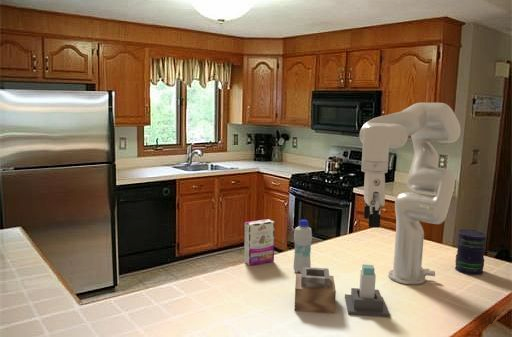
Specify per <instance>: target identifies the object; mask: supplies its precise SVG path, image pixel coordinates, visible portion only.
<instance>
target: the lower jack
mask: <svg viewBox="0 0 512 337" xmlns="http://www.w3.org/2000/svg"><path fill="white" fill-rule="evenodd" d="M350 291H351V292H350V294H346V293H345V294H344V301H345V305H346V309H347V313H348V315H353V316H363V317H365V316H366V317H377V318H378V317H380V318H390V317H391V314H390V311H389V308H388V306H387V304H386V302H385V299H384V297H383V296H382V295H381V292H380V290H379V289H375V295H374V299H370V298H359V292H360V287H359V288H355V287H354V288H353V287H351V290H350Z"/></svg>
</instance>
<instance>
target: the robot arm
mask: <svg viewBox="0 0 512 337" xmlns="http://www.w3.org/2000/svg"><path fill="white" fill-rule="evenodd" d="M461 131H462V130H461V124H460V122H459V120H458V118H457V115H456V114H455V112H454V110H453V109H452V107H450V106H449V105H448V104H447V103H444V102H416V103H413V104H412V105H410V106H409V107H408V106H407V108H405V109H402V111H397V112H394V113H389V114H385V115H380V116H377V117H374V118H372V119H369V120H368V121H366V122H365V123H364V124H363V125H362V127H361V128H360V130H359V141H360V142H361V144H362V149H361V150H362V151H361V153H362V154H361V155H362V156H361V170H360V171H361V172H363V173H364V184H363V200H364V206H363V207H364V208H363V218H364V219H367V220H368V224H367V226H368V227H369V228H378V229H379V228H380V227H381V207H384V206H385V205H386V204H385V202H386V201H385V200H386V176H385V175H386V174H387V173H388V169H389V152H390V149H392V150H393V149H401V148H403V147H404V146H405V145H406V143H407V141H408V139H409V136H410V137H411V141H412V146H413V154H414V155H413V157H412V162H411V163H410V164H411V165H410V168H409V172H408V175H407V179H406V186H407V188H408V189H409V190H411V191H414V192H408V191H406V192H401V193H399V194H398V195H397V196H396V197H395V201H394V212H395V219H396V222H395V223H396V224H395V226H396V227H395V237H394V238H395V242H394V256H393V269H392V270H390V271H389V272H388V277H389V279H391V280H392V281H394V282H397V283H399V284H404V285H421V284H423V283H425V282H426V276H429V277H436V271H435V270H430V268H423V267H422V265H423V264H422V262H423V253H424V252H423V251H424V250H423V249H424V238H425V231H424V229H423V226H422V224H421V222H423V223H427V224H434V225H441V224H443V223H444V221H445V220H446V219H447V216H448V213H449V209H450V205H451V201H452V197H453V194H454V190H455V185H456V177H455V173H453V171H452V170H451V169H449V168H443V167H437V166H438V162H439V160H440V159H439V154H438V152H437V151H436V149H435V147H434V146H433V145H432V144H431V143H443V144H446V143H447V144H451V143H452V144H453V143H456V142H457V141H458V140H459V138H460V135H461ZM416 192H418V193H416Z"/></svg>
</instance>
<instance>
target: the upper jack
mask: <svg viewBox="0 0 512 337" xmlns="http://www.w3.org/2000/svg"><path fill="white" fill-rule="evenodd" d="M329 270H330V269H329V268H327V267H326V268H325V267H302V272H300V273H295V284H294V285H295V288H294V309H293V310H294V311H295V312H308V313H309V312H311V313H320V314H321V313H324V314H325V313H326V314H335V313H336V299H337V298H336V297H337V296H336V295H337V294H336V293H337V289H336V284H335V279H334V275H330V271H329Z"/></svg>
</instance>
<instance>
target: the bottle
mask: <svg viewBox="0 0 512 337" xmlns="http://www.w3.org/2000/svg"><path fill="white" fill-rule="evenodd" d="M298 224H299V225H298V226H297V227H295V228H294V234H293V238H294V239H293V241H294V257H293V271H294V272H295V274H300V273H301V272H302V267H310V268H312V267H311V265H312V264H311V262H312V261H311V253H312V252H311V250H312V242H313V240H312V239H313V233H312V228H311V227H309V221H308V220H307V219H300V220H299V222H298Z"/></svg>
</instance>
